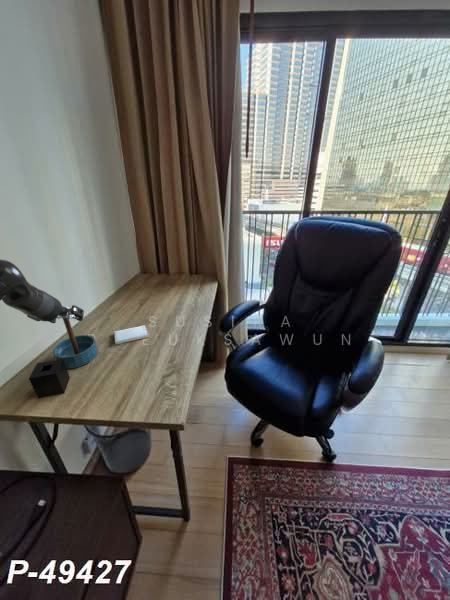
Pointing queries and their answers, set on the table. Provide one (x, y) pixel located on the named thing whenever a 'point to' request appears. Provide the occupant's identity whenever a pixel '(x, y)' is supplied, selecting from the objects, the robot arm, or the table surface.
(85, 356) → the bowl
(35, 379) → the holder
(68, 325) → the stick
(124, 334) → the hard drive
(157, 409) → the table surface
